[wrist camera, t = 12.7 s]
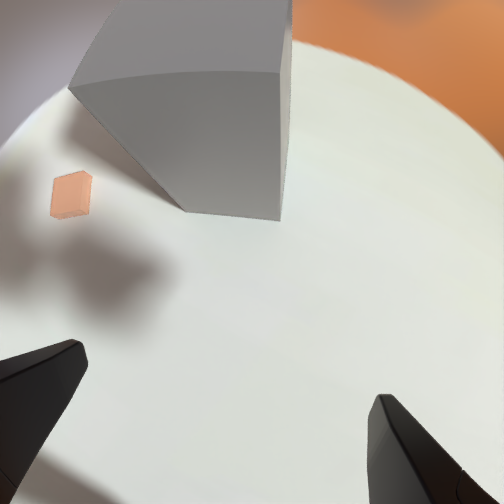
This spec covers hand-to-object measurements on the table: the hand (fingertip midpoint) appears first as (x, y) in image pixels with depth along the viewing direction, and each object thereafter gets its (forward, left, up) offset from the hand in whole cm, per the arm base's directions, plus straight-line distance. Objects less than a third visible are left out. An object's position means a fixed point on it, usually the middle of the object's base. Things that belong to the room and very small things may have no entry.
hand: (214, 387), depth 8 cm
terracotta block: (+6, +15, -10) cm, 20 cm away
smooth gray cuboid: (+10, +3, -10) cm, 15 cm away
